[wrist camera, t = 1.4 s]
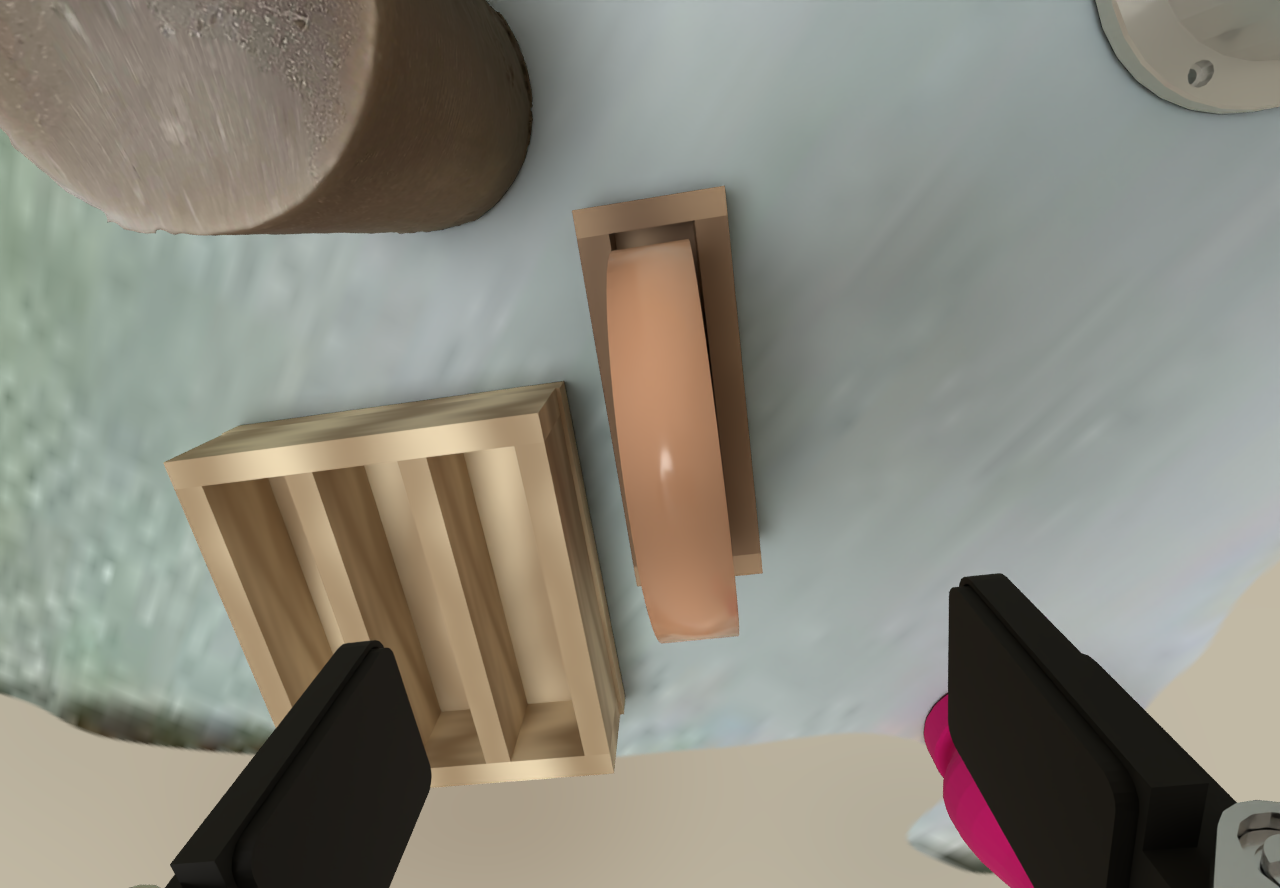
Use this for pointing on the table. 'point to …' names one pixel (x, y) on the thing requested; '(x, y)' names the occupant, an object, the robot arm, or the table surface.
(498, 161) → the pillar candle
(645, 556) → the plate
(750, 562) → the narrow wooden tray
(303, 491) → the rack
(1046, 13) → the table surface
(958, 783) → the pepper mill
